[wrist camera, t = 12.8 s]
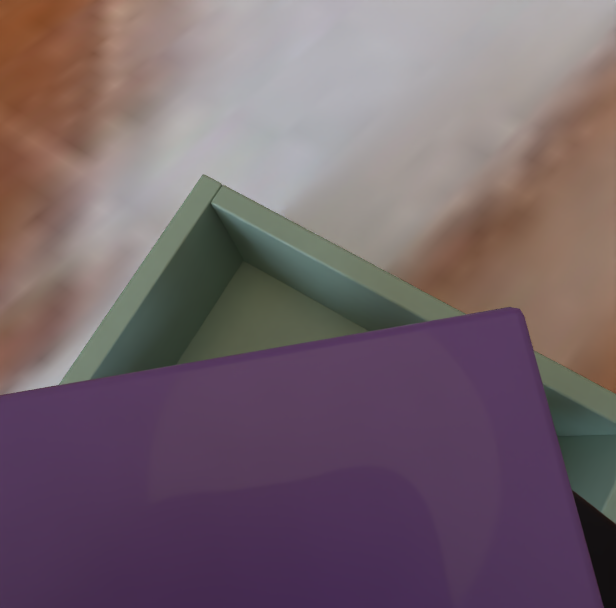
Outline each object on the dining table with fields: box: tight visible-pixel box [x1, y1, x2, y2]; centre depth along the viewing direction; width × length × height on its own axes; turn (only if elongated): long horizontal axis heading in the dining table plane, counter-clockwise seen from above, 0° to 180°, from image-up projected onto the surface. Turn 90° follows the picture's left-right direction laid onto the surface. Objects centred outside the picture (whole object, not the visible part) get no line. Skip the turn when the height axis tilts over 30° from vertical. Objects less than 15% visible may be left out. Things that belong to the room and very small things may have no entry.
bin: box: [59, 175, 616, 524], centre depth 14 cm, size 12×11×5 cm
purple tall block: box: [0, 307, 604, 608], centre depth 9 cm, size 4×5×12 cm, turn 99°
